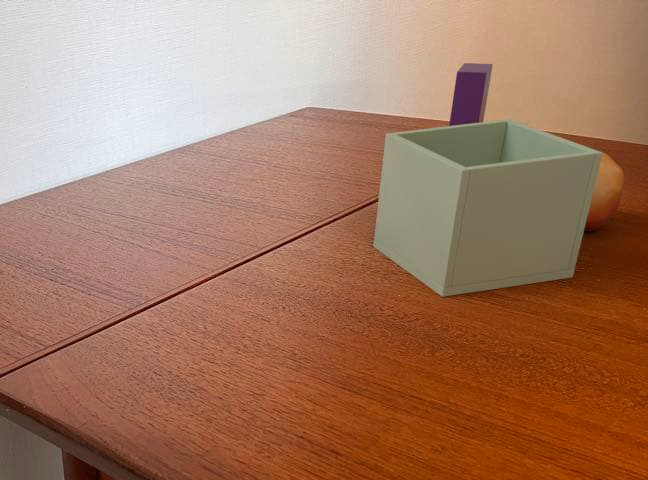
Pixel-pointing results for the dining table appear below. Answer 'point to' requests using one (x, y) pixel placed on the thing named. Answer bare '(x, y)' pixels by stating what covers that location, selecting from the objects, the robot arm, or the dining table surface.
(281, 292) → the dining table surface
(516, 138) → the bin
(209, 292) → the dining table surface
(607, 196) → the fruit
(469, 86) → the purple rectangular block
